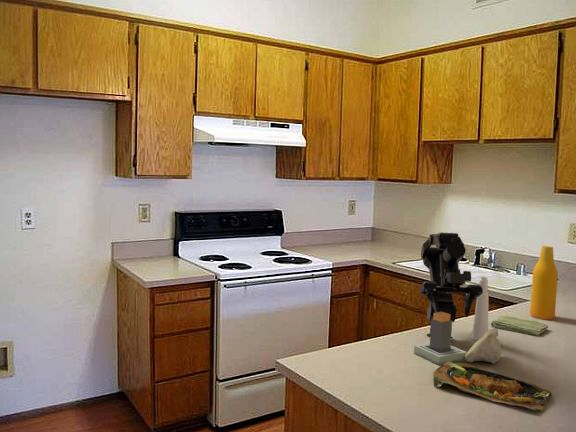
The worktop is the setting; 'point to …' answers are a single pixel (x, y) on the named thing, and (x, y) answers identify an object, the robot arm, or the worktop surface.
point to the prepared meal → (491, 385)
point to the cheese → (485, 348)
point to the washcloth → (519, 325)
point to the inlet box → (439, 354)
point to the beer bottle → (544, 286)
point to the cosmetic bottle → (481, 312)
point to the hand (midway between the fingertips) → (452, 315)
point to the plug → (441, 332)
